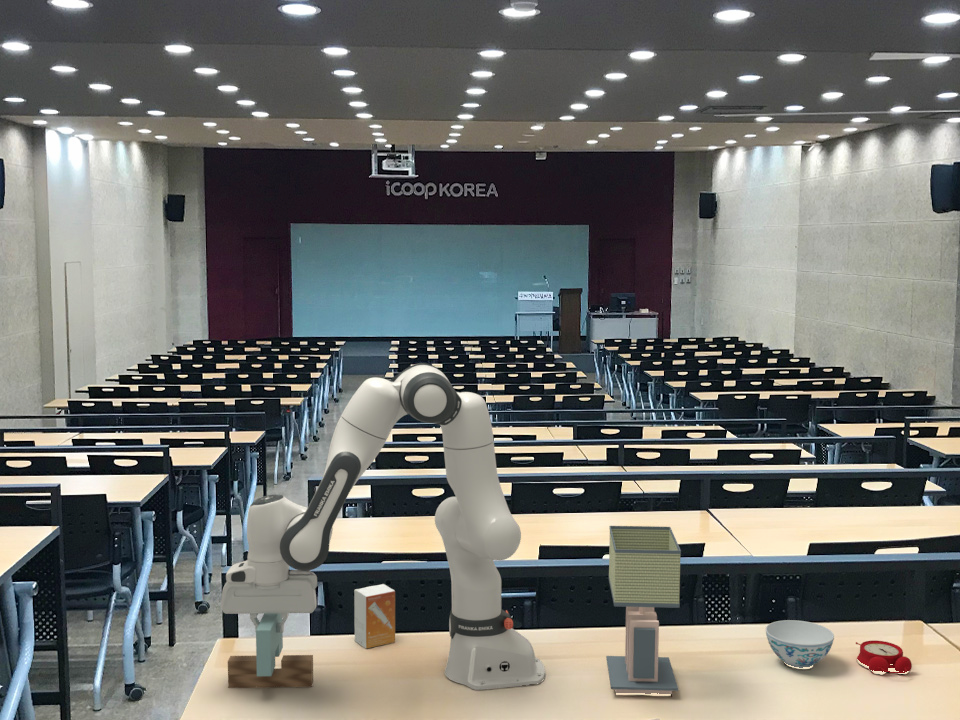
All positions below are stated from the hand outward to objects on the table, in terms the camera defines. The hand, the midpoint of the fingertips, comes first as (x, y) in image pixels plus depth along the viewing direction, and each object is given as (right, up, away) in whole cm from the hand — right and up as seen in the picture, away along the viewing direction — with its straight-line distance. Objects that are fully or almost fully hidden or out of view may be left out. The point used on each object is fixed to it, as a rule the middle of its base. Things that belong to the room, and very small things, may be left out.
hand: (269, 631), depth 229 cm
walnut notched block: (0, -12, +1) cm, 12 cm away
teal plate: (0, -7, +1) cm, 7 cm away
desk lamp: (+81, -12, +3) cm, 82 cm away
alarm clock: (+138, -11, +12) cm, 139 cm away
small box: (+20, -9, +26) cm, 34 cm away
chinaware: (+119, -11, +13) cm, 120 cm away
